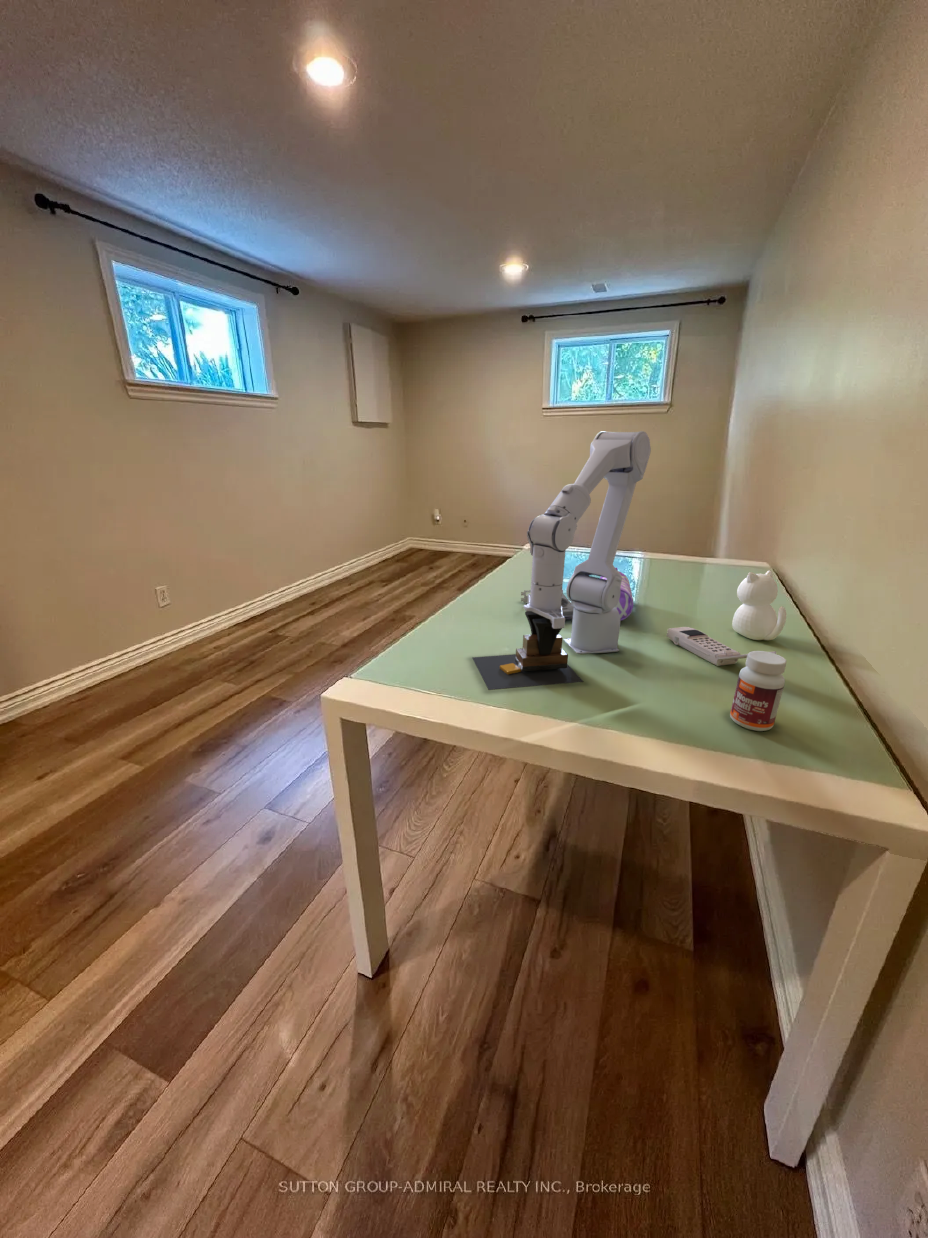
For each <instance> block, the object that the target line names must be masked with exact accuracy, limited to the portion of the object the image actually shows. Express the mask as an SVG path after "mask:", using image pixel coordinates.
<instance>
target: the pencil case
mask: <svg viewBox="0 0 928 1238" xmlns="http://www.w3.org/2000/svg"><path fill="white" fill-rule="evenodd" d="M615 568H616V570H617V571H618V572H619V574H620V575H621V577H622V582H621V588H620V591H621V592H620V598H619V601H618V603H617V605H616V606H615V608H616V609H617V610H618V612H619V615H620V622H622V621H625V620H626V619H627V618H629V617H630V616H631V614H632V612H633V610H634V597H633V592H632V588H631V584H630V580H629V577H627V575H626V574H625V573H623V572H622V571H619V570H618V569H619V568H618V567H615ZM599 578H601V579H605V580H607V579H606V578H605V577H601V576H599Z"/></svg>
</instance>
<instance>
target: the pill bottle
mask: <svg viewBox="0 0 928 1238" xmlns="http://www.w3.org/2000/svg"><path fill="white" fill-rule="evenodd" d="M771 652H772V651H765V650H752V651H749V652H748V653H747V654H748V655H747V658H746V660H745V666H744V667H742V668H741V669H740V671H739V673H738V676H737V677H738V678H737V682H736V685H735V691H734V695H733V699H732V704H731V707H730V712H729V716H730V719H731V720H732V722H734V723H735V724H736V725H739V726H740V727H742V728H744V729H747V730H750V731H755V732H756V731H757V732H763V731H764V732H765V731H769V730H771V729H773V727H774V725H775V722H776V718H777V714H778V712H779V711H778V710H779V706H780V703H781V699H782V696H783V692H784V688H785V683H786V678H785V677H784V675H783V674H784V673H785V670H786V666H787V659H786V658H785V657H784V656H781V655H779V654H777V653H776V654H774V653H771Z"/></svg>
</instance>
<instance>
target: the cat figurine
mask: <svg viewBox="0 0 928 1238" xmlns="http://www.w3.org/2000/svg"><path fill="white" fill-rule="evenodd" d="M773 575H774V574H773V571H772V570H769V569H768V570H767V571H766V572H765V573H754V572H753V571H751V572H748V574H747V576H746V577H745V578H744V579H742V581H741V582H740V583H739V585H738V587H737V590H736V596H737V598H738V601H740V603H741V605H740V606H739V607H737V608H736V610H735V612H734V614H733V617H732V623H731V627H732V629H733V631H734V632H735V633H737V634H739V635H741V636H743V637H745V638H747V639H750V640H752V641H772V640H775V639H776V638H778V636H779V635H780V634H781V632H782V631H783V629H784V627H785V625H786V621H787V610H786V607H784V606H779V608H778V612H776V610H775V608H774V607H773V606H772V605H771V604H773V602H775V600H776V599H777V596H778V593H779V587H778V583H777V581H776V580H775V579H774V576H773ZM777 613H778V614H777Z"/></svg>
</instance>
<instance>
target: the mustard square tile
mask: <svg viewBox="0 0 928 1238" xmlns="http://www.w3.org/2000/svg"><path fill="white" fill-rule="evenodd" d="M500 669H501V670H502V671H504V672H505V673H506V674H512V673H517V672H521V669H520V668H519V667H518V666H516V665H515V664H514V663H510V664H506V665H501V666H500Z"/></svg>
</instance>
